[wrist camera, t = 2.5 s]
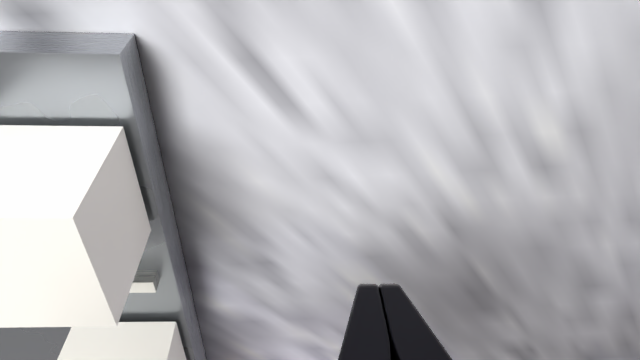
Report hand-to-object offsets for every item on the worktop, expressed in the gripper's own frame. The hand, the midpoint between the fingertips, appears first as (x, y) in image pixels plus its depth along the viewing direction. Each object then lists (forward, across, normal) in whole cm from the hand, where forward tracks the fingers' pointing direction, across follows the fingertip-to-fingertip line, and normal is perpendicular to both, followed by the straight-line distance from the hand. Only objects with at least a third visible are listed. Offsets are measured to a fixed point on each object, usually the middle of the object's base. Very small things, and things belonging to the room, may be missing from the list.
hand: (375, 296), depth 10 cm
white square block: (+4, +8, 0) cm, 8 cm away
